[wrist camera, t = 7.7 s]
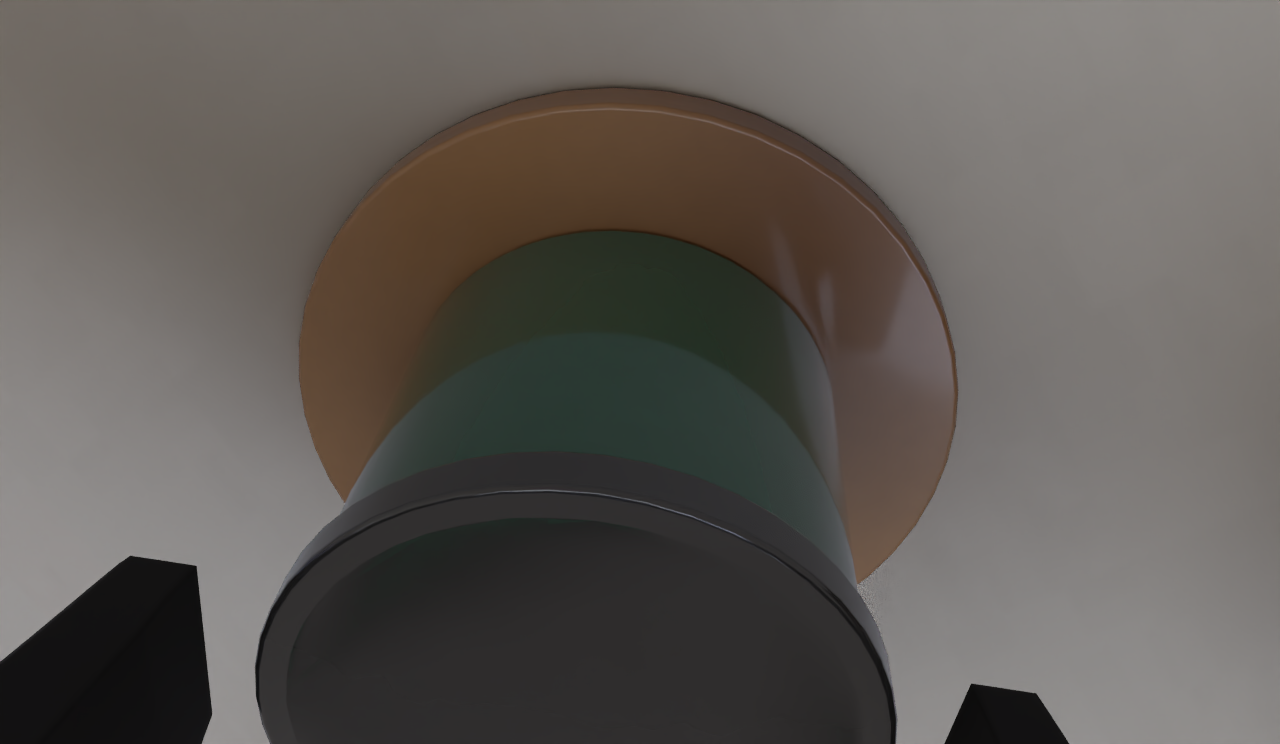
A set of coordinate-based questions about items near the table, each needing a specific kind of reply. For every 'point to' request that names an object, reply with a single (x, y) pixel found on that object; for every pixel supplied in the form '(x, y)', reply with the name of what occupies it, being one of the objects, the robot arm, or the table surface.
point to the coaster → (659, 205)
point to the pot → (590, 526)
